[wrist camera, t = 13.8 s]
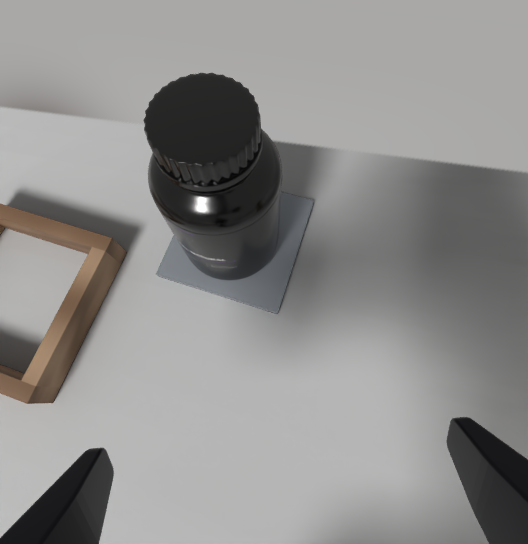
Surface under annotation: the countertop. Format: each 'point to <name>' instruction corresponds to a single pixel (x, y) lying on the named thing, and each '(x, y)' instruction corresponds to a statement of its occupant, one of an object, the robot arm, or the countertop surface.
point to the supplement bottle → (215, 174)
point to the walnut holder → (74, 310)
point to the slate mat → (262, 285)
